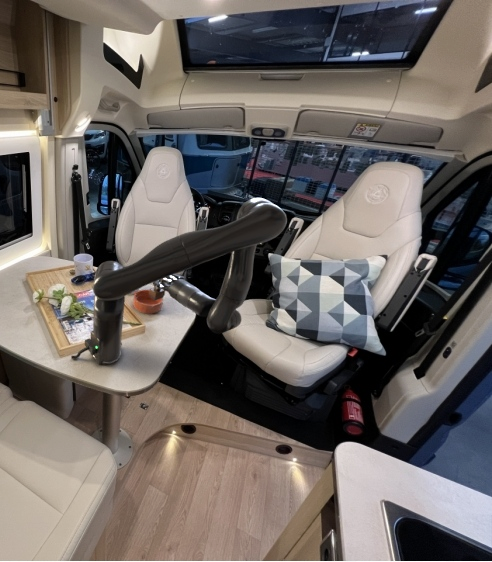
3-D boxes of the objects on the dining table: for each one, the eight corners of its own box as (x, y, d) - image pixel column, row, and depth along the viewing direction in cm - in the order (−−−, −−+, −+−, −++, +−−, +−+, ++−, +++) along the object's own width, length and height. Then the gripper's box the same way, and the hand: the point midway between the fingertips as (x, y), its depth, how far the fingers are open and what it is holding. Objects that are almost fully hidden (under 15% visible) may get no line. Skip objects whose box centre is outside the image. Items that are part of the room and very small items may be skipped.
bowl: (144, 317, 116) (145, 308, 114) (127, 302, 125) (128, 293, 123) (167, 309, 122) (168, 300, 120) (149, 295, 131) (150, 287, 129)
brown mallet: (154, 301, 112) (159, 268, 105) (148, 296, 115) (152, 264, 108) (164, 297, 114) (169, 265, 107) (157, 293, 117) (162, 261, 110)
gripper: (202, 279, 101) (169, 260, 114) (172, 289, 94) (140, 267, 107) (197, 297, 105) (166, 277, 117) (169, 308, 98) (139, 285, 110)
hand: (154, 272), depth 112 cm, fingers closed on brown mallet, 2 cm apart
